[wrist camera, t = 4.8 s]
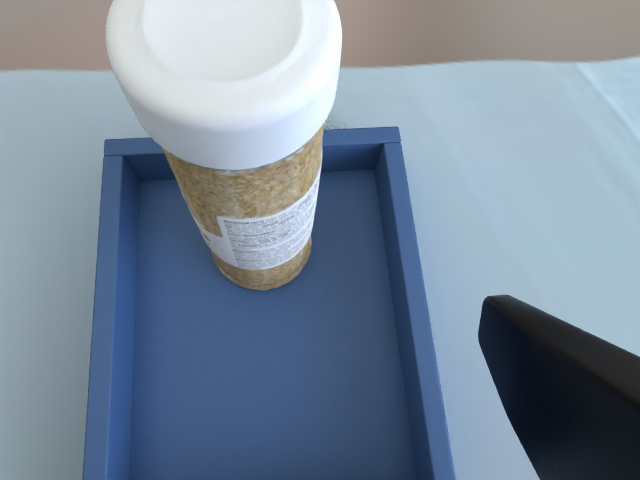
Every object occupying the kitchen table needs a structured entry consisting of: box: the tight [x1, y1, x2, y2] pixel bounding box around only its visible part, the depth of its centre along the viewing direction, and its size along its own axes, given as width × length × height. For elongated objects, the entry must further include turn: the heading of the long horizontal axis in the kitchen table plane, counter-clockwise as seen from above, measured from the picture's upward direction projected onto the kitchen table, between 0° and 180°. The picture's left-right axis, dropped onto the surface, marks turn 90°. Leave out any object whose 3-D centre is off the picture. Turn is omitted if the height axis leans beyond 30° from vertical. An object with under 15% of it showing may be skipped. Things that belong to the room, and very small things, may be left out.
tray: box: [83, 127, 456, 480], centre depth 19 cm, size 16×13×3 cm
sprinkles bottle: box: [105, 0, 342, 291], centre depth 15 cm, size 5×5×13 cm
